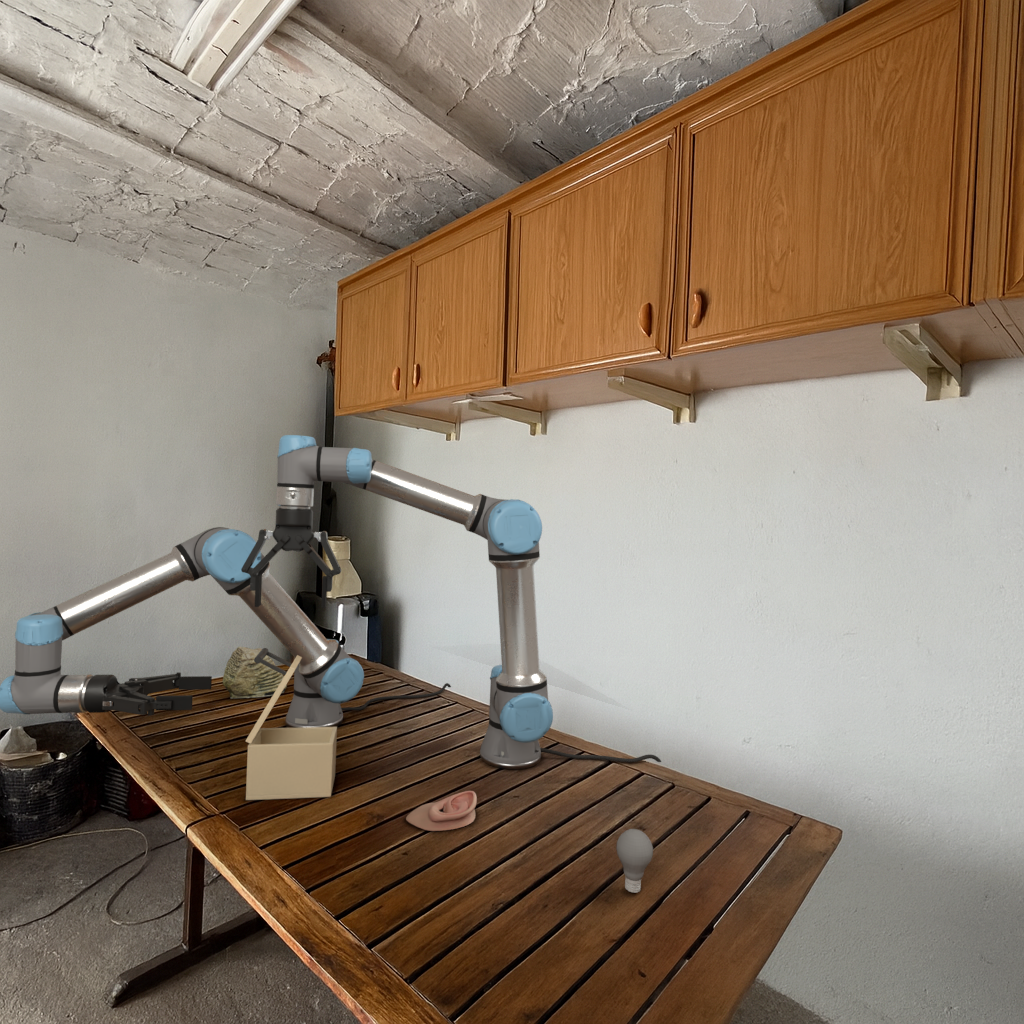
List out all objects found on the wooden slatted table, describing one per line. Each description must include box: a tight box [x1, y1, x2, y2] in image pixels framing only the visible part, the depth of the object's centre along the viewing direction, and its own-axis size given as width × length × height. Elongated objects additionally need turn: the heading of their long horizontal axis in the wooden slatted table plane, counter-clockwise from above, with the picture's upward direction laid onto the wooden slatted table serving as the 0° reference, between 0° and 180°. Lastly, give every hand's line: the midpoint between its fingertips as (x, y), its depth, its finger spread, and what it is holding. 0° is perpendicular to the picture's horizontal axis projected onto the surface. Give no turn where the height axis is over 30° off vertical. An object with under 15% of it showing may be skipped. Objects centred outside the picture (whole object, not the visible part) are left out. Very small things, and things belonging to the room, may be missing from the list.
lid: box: [245, 647, 302, 744], centre depth 136 cm, size 18×10×8 cm
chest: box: [245, 726, 338, 801], centre depth 137 cm, size 17×10×11 cm, turn 101°
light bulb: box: [615, 828, 654, 894], centre depth 106 cm, size 6×6×10 cm
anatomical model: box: [405, 790, 478, 832], centre depth 127 cm, size 13×4×12 cm
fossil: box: [222, 646, 288, 699], centre depth 198 cm, size 9×18×15 cm, turn 132°
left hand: (202, 692), depth 133 cm, fingers open, 13 cm apart
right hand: (291, 606), depth 136 cm, fingers open, 13 cm apart
